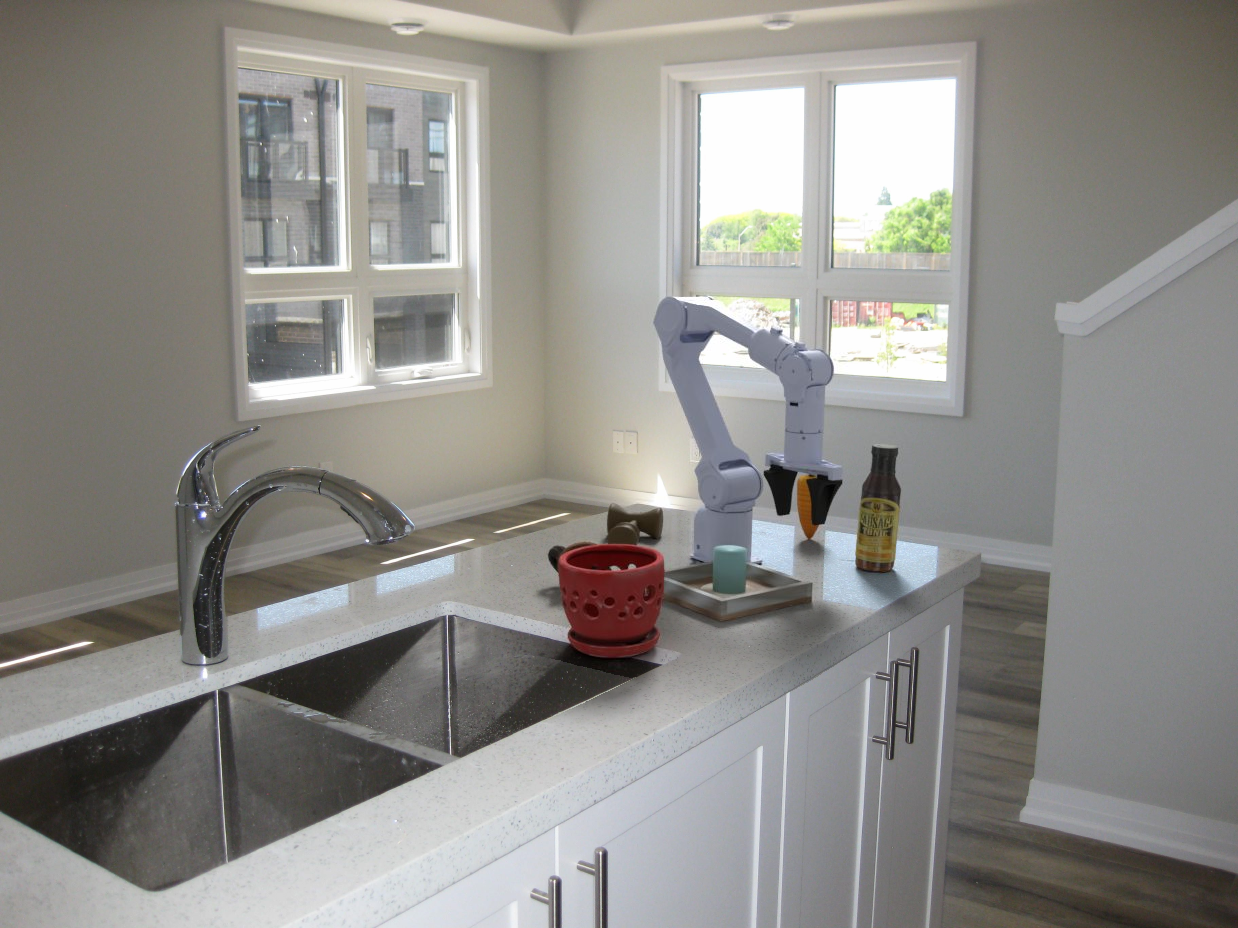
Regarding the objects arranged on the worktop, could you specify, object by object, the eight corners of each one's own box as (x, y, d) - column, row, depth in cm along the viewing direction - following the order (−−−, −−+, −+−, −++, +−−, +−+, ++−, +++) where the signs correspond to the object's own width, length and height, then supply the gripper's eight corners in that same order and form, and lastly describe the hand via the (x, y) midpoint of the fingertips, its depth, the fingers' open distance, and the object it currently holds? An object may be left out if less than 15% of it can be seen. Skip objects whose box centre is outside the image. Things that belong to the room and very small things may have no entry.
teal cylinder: (705, 588, 168) (706, 547, 167) (731, 583, 170) (732, 543, 169) (727, 595, 164) (728, 554, 163) (752, 590, 166) (753, 550, 165)
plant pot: (584, 626, 153) (584, 538, 151) (677, 639, 148) (679, 548, 146) (540, 656, 141) (540, 561, 139) (640, 671, 136) (642, 573, 134)
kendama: (592, 556, 191) (614, 526, 211) (649, 561, 190) (666, 531, 209) (593, 521, 190) (615, 495, 209) (650, 526, 188) (668, 498, 208)
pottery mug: (630, 589, 172) (627, 550, 167) (592, 629, 166) (588, 590, 161) (566, 558, 178) (562, 519, 172) (527, 596, 172) (522, 557, 167)
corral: (646, 591, 169) (646, 573, 169) (733, 574, 179) (734, 557, 178) (721, 621, 155) (721, 601, 155) (811, 601, 165) (812, 582, 165)
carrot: (823, 543, 199) (826, 458, 197) (794, 541, 200) (797, 456, 198) (823, 536, 204) (827, 453, 202) (795, 535, 205) (798, 452, 203)
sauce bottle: (851, 570, 182) (857, 446, 178) (858, 561, 187) (864, 441, 184) (893, 575, 179) (900, 449, 176) (899, 565, 185) (906, 443, 182)
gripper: (751, 427, 176) (748, 513, 178) (819, 439, 164) (815, 532, 167) (785, 423, 180) (782, 508, 182) (854, 435, 168) (850, 526, 171)
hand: (800, 519), depth 175 cm, fingers open, 7 cm apart
